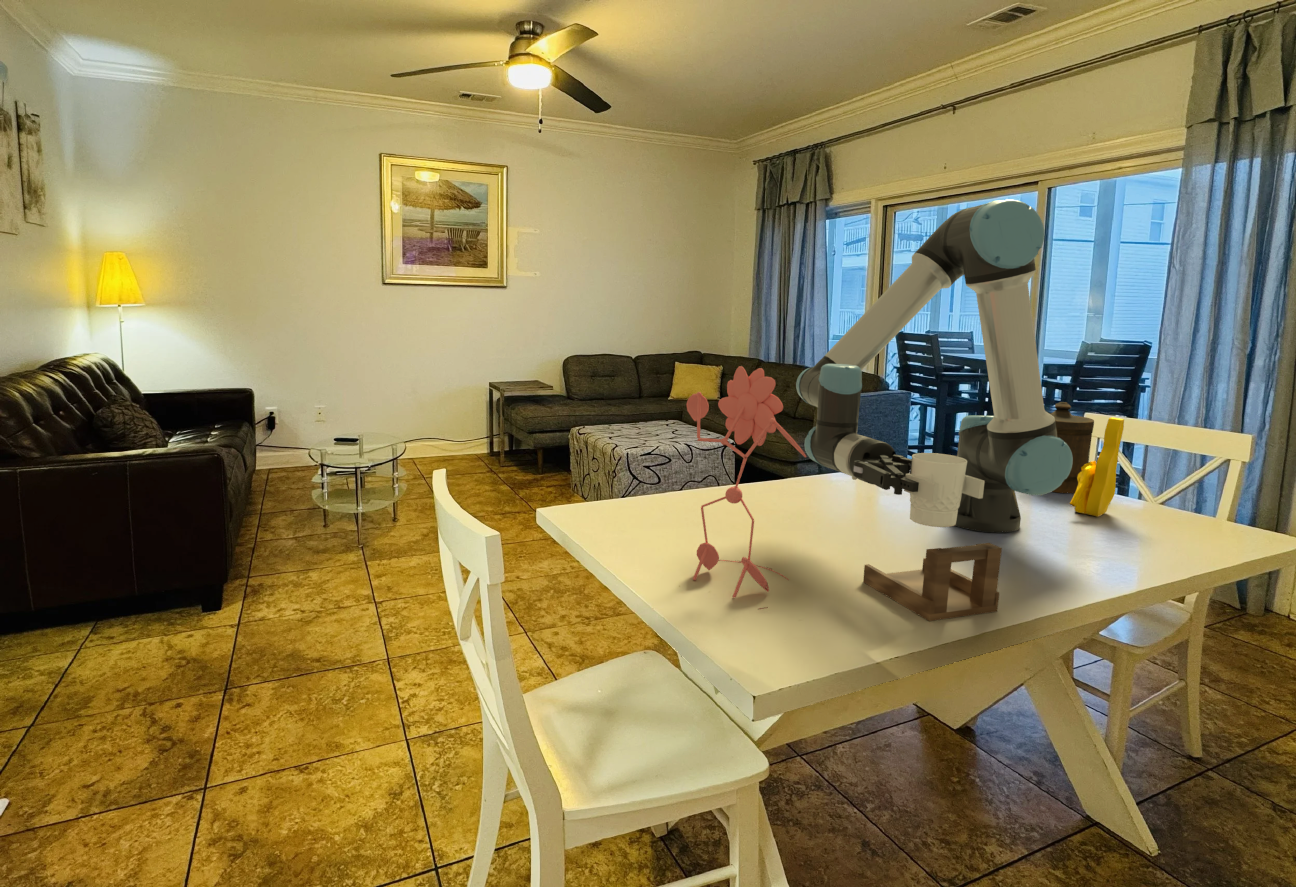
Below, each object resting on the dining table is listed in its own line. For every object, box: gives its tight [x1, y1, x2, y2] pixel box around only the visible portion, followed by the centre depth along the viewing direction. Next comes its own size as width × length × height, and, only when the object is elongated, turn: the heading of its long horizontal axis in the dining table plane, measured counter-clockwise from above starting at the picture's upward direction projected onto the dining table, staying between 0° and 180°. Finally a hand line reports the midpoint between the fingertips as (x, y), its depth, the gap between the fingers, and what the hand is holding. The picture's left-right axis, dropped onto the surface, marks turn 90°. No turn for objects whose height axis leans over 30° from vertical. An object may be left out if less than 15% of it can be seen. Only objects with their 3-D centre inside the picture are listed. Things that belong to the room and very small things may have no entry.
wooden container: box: [1048, 401, 1095, 494], centre depth 191 cm, size 15×15×22 cm
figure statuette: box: [1069, 417, 1125, 518], centre depth 166 cm, size 18×8×22 cm, turn 134°
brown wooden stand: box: [862, 542, 1003, 622], centre depth 117 cm, size 16×12×10 cm
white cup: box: [909, 452, 967, 528], centre depth 115 cm, size 8×8×10 cm
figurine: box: [685, 365, 807, 610], centre depth 120 cm, size 15×26×35 cm, turn 39°
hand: (958, 491), depth 110 cm, fingers closed on white cup, 8 cm apart
